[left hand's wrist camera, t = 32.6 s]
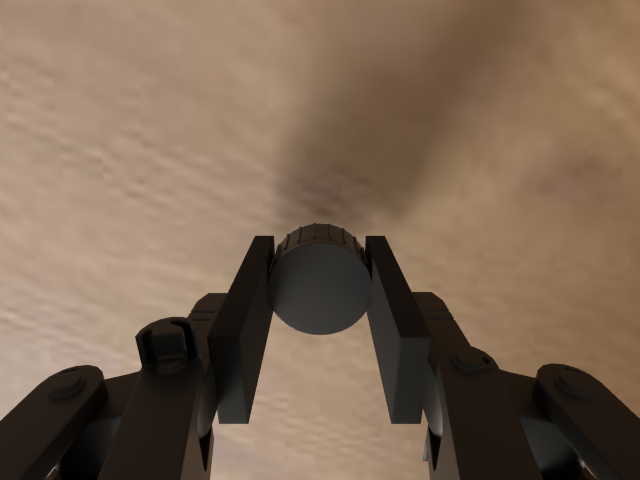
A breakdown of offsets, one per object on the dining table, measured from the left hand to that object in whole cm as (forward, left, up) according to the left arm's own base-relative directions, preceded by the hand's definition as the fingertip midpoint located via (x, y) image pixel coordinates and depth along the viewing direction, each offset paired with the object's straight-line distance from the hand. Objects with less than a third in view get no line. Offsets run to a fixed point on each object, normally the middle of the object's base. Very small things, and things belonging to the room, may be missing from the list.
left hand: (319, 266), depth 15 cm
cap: (0, 0, +2) cm, 2 cm away
